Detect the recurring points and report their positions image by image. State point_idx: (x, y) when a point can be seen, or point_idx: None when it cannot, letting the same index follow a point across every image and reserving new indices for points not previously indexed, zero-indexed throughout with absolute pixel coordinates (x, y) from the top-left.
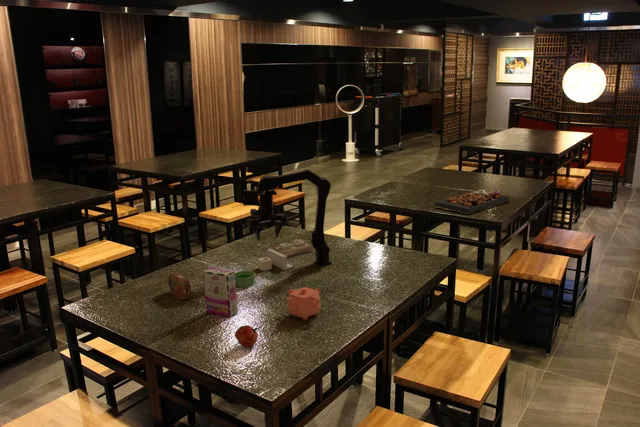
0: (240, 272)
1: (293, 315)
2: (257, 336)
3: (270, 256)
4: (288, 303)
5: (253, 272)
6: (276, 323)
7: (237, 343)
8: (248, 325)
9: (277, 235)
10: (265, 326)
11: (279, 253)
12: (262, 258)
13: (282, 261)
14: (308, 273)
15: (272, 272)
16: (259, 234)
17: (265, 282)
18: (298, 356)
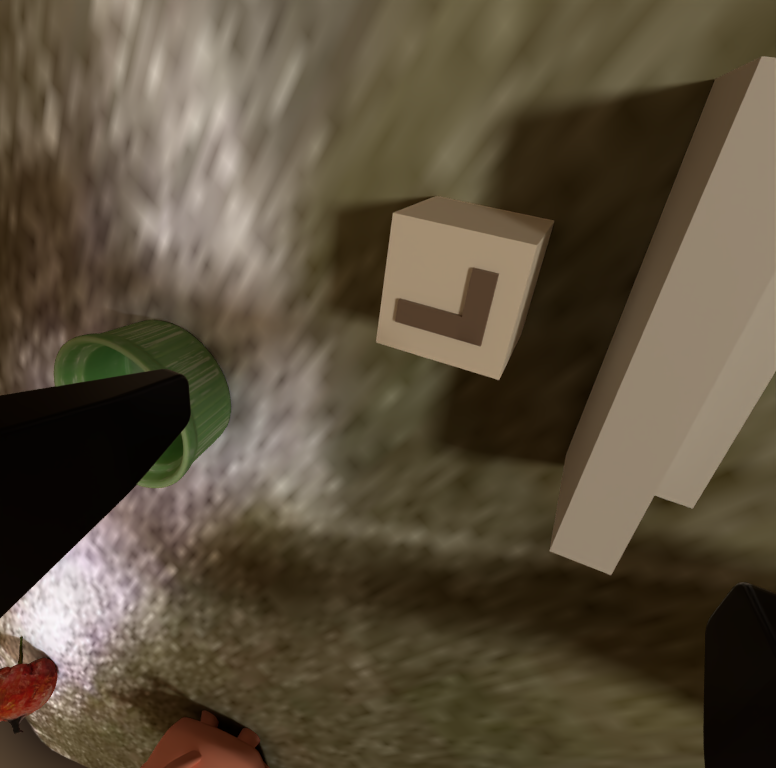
0: (117, 348)
1: (201, 717)
2: (45, 701)
3: (683, 196)
4: (149, 759)
5: (183, 448)
6: (141, 685)
7: (20, 649)
8: (2, 708)
9: (721, 708)
10: (110, 664)
11: (660, 437)
12: (449, 255)
13: (561, 498)
14: (628, 657)
15: (450, 404)
16: (17, 585)
17: (287, 478)
18: (124, 761)
